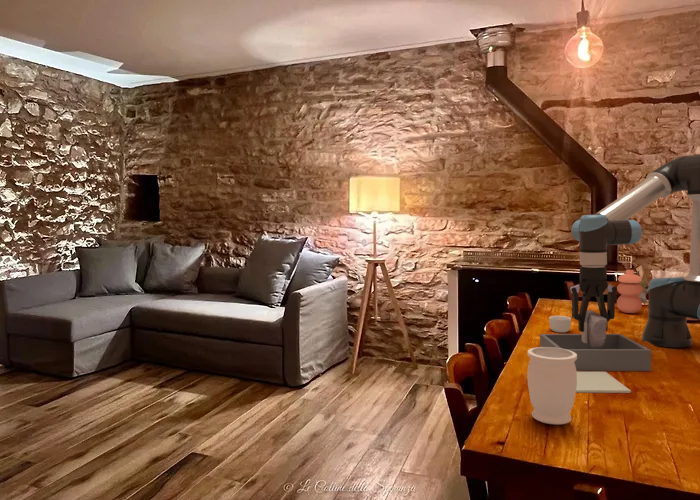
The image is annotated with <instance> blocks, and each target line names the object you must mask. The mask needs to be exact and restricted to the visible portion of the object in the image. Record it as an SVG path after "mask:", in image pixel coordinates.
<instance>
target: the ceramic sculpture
mask: <svg viewBox="0 0 700 500" xmlns="http://www.w3.org/2000/svg"><path fill="white" fill-rule="evenodd" d="M634 274H635V275H638V276H640V277H641V274H640V270H638V271H637V272H636V273H634ZM641 279H642V281H641V282H640V283H638V284H640V285H641V286H642V292H641V293H640V294H639V295H638V297H639V298H640V299H641V302H642V303H645V304H646V303H647V304H648V300H647V297H646V296H647V294H648V289H649V281H648V280H647V279H646V278H643V277H641Z"/></svg>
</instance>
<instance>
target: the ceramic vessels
mask: <svg viewBox="0 0 700 500" xmlns="http://www.w3.org/2000/svg"><path fill="white" fill-rule="evenodd" d="M635 274H636V273H635V271H634V270H633V269H626V270H625V273H624V274H621V275H619V276H618V278H617V280H618V282H619V283H618V285H617V286H616V287H617V291H616V292H618V294H620V295H619V296H618V298H617V299H616V306H617V308H618V309H619V311H621V312H622V313H626V314H636V313H638V312H639V311H640V310H641V308H642V306H643V302H641V299H640V298H639V297H638V295H639V294H640V293H641V292H642V286H641V285H640V284H638V283H640V282H641V281H642V279H641V278H642V277H641V275H640V276H638V275H635ZM686 321H699V320H698V319H693V318H688V317H687V318H686Z"/></svg>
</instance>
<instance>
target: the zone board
mask: <svg viewBox="0 0 700 500" xmlns="http://www.w3.org/2000/svg"><path fill="white" fill-rule="evenodd" d="M576 372H577V387H576V393H577V394H580V393H581V394H582V393H583V394H586V393H589V394H590V393H591V394H595V393H596V394H598V393H599V394H605V393H606V394H613V393H614V394H615V393H616V394H618V393H619V394H620V393H621V394H622V393H623V394H627V393H628V394H630V393H632V390H631V389H629V388H628V387H627V386H626V385H624V384H623V383H621V382H620V381H619V380H618V379H616V378H615V377H614V376H612V375H611V374H609V373H608V372H607V371H576ZM576 393H575V394H576Z"/></svg>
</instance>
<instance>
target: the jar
mask: <svg viewBox="0 0 700 500" xmlns="http://www.w3.org/2000/svg"><path fill="white" fill-rule="evenodd" d="M527 356H528V358H529V361H528V366H527V373H526V376H527V377H526V378H527V379H526V380H527V386H528V392H529V393H528V394H529V398H530V399H529V400H530V404H531V405H532V407H533V410H532V412H531V416H532V417H533V419H535V420H536V421H538V422H541V423H544V424H547V425H548V424H549V425H566V424H568V423H570V422H571V421H572V416H571V414H570V412H571V411H572V409H573V406H574V402H575V399H576V387H577V372H578V371H576V367H575V363H574V361H576V359H577V354H576V353H575V352H573V351H570V350H566V349H562V348H554V347H540V346H538V347H537V346H536V347H532V348H529V349H528V350H527Z"/></svg>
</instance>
